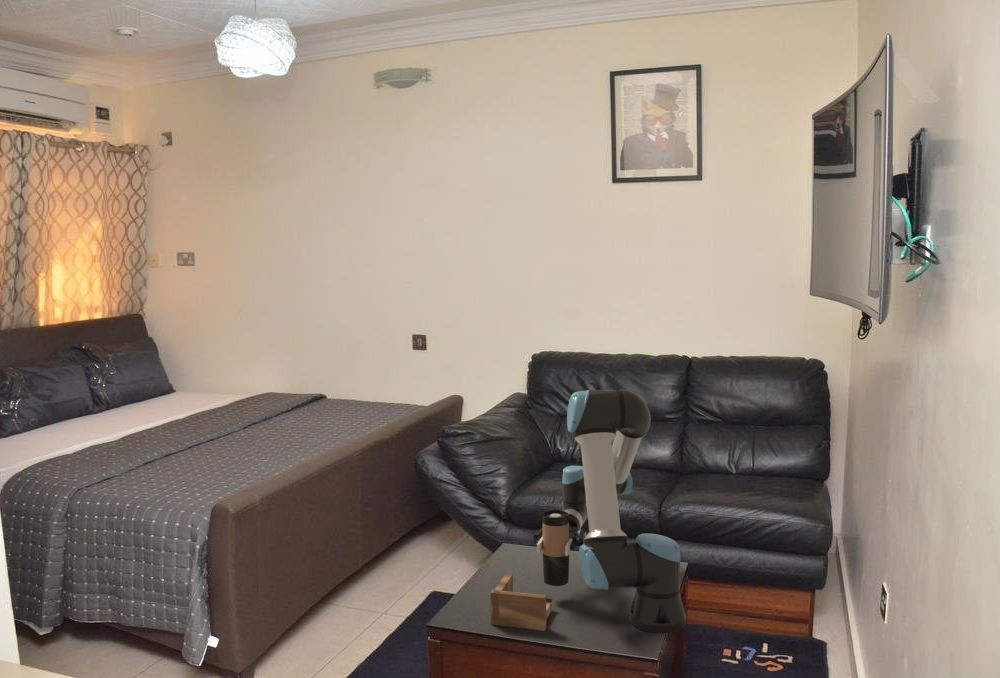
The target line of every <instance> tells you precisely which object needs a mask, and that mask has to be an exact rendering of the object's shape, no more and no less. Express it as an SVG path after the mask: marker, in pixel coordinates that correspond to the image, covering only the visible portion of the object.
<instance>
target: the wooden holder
mask: <svg viewBox="0 0 1000 678" xmlns="http://www.w3.org/2000/svg"><path fill="white" fill-rule="evenodd" d="M489 593H490V594H489V595H490V596H489V597H490V598H489V599H490V603H489V604H490V625H492V626H493V625H494V626H501V627H509V628H518V629H524V630H525V629H527V630H534V631H542V632H543V631H544V632H545V631H546V629H547V620H548V618H549V616H550V614H551V613H552V601H553V597H549V596H548V597H547V595H546V594H545V595H544V594H536V593H529V592H527V593H526V592H517V591H514V574H513V573H508V572H507V573H505V574H504V575H503V577H502V578H501V580H500V581H499V583H498V584H497V585H496V586H495V588H494V589H492V590H491V591H490V592H489Z"/></svg>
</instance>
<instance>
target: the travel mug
mask: <svg viewBox="0 0 1000 678" xmlns="http://www.w3.org/2000/svg"><path fill="white" fill-rule="evenodd" d="M542 526H543V549H542V567H543V583H544V584H545V585H548V586H553V587H560V586H561V587H562V586H565V585H567V584H568V583H569V577H570V572H569V571H570V570H569V569H570V554H569V555H568V556H565V546H566V544H567V542H568V541H569V514H568V513H567V512H565V511H563V510H559V509H558V510H557V509H552V510H546V511H543V512H542Z"/></svg>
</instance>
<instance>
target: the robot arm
mask: <svg viewBox="0 0 1000 678" xmlns="http://www.w3.org/2000/svg"><path fill="white" fill-rule="evenodd" d="M566 412H567V413H566V415H567V416H566V427H567V431H568V433H571V434H574V441H575V442H577V443H578V444H580V450H581V451H580V453H581V459H582V465H568V466H565V467H564V468H563V470H562V478H561V479H562V481H561V483H562V485H561V486H562V511H565V512H567V513H568V514H569V541H568V542H567V544H566V546H565V556H568V555H569V556H570V553H571V551H574V550H575V549H576V548H577V547H579V549H578V555H579V556H578V560H579V565H580V570H581V573H582V577H583V579H584V581H585V583H586V584H587V586H588V587H589V588H590V589H592V590H606V591H607V590H609V589H610V590H611V589H622V588H623V589H626V588H635V595H634V596H633V600H632V603H631V606H630V609H629V622H630V624H631V625H632V626H634V627H635V628H637V629H639V630H640V631H641V630H642V631H644V632H648V633H656V634H670V633H675V632H678V631H680V630H682V629H683V628H685V627H686V624H687V615H686V614H687V613H686V612H685V611H686V610H685V608H684V604H683V601H682V598H681V595H680V592H681V591H680V585H681V561H682V559H681V551H680V549H681V548H680V546H679V544H678V542H676V541H675V540H674V539H672V538H670V537H668V536H665V535H662V534H656V533H641V534H638V535H637V536H636V538H635V541H634V542H630V541H629V542H628V535H627V534H626V533H625V532H624V531H623V530H622V529H621V521H620V513H619V512H620V510H619V501H618V496H622V495H628V494H630V493H632V490H633V483H634V481H633V477H632V474H631V472H630V471H631V469H632V465H633V463H634V461H635V457H636V454H637V452H638V449H639V447H640V444H641V441H642V438H644V437H646V435H647V434H648V433H649V429H650V426H651V423H652V422H651V421H652V420H651V419H652V418H651V412H650V409H649V407H648V405H647V403H646V402H645V401H644V399H643V398H642V397H641V396H640V395H639V394H637V393H636V392H634V391H631V390H628V389H594V390H591V389H590V390H589V389H587V390H580V391H575V392H573V393H572V394H571V396H570V398H569V401H568V405H567V411H566ZM586 521H587V524H588V532H587V528H582V527H583V525H584V524H585V522H586ZM581 528H582V529H581ZM577 536H578V539H577ZM532 537H533V539H532V540H533V541H532V542H533V544H535V546H536V553H537V554H541V552H543V525H541V528H539V530H537V531H536V532H535V533H534V534H532Z"/></svg>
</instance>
